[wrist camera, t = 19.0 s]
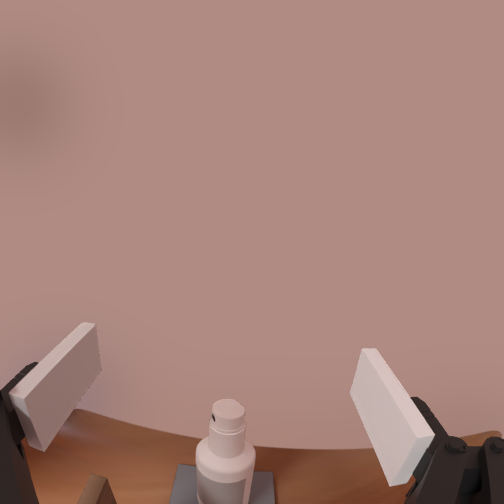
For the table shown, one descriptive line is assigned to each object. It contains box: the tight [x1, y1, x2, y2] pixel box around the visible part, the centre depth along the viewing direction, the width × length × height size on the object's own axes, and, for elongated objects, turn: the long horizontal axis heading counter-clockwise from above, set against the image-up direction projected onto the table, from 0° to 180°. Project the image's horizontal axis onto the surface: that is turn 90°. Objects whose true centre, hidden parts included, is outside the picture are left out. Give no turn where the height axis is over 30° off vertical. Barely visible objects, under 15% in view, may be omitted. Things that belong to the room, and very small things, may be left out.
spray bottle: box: [196, 399, 256, 504], centre depth 32 cm, size 7×7×18 cm
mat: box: [169, 464, 275, 504], centre depth 33 cm, size 14×12×1 cm
